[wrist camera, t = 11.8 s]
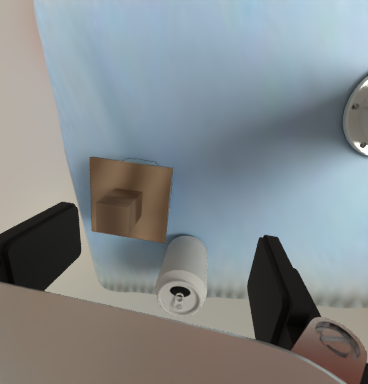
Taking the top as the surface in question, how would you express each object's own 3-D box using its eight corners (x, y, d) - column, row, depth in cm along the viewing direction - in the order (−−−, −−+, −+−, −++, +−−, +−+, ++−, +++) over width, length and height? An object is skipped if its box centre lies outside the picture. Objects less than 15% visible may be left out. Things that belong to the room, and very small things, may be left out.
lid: (173, 167, 30) (163, 180, 24) (165, 240, 34) (155, 268, 28) (92, 156, 31) (62, 165, 24) (94, 228, 35) (68, 252, 28)
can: (209, 235, 38) (209, 282, 27) (205, 269, 41) (203, 325, 29) (168, 230, 39) (152, 274, 28) (167, 264, 41) (151, 317, 30)
